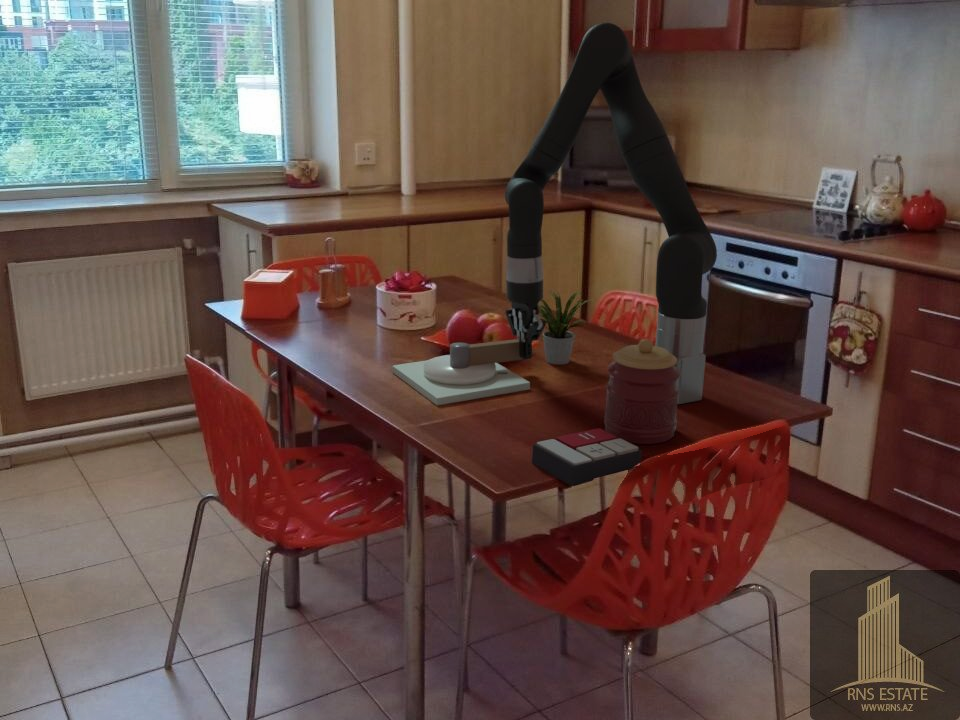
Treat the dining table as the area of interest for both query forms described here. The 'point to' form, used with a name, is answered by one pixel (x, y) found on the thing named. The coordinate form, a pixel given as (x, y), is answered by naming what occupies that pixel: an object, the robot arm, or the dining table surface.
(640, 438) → the canister
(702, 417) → the dining table surface
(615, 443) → the calculator
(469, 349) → the dial
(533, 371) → the dining table surface
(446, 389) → the dial base
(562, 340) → the house plant
